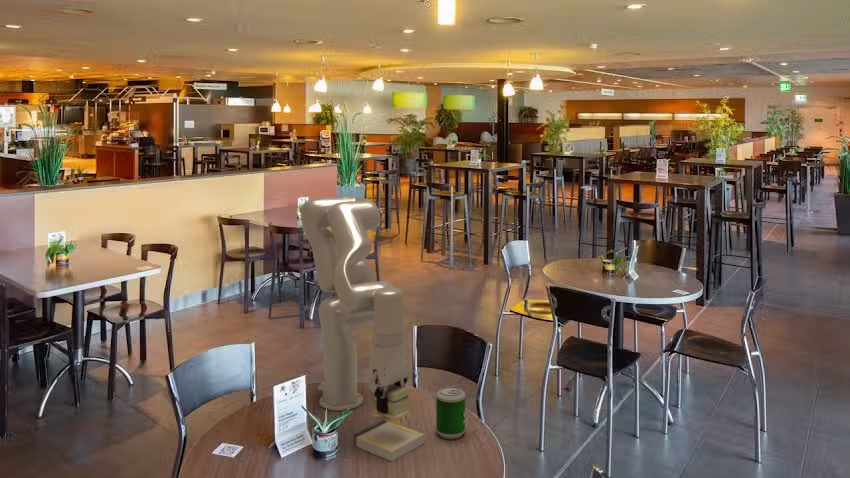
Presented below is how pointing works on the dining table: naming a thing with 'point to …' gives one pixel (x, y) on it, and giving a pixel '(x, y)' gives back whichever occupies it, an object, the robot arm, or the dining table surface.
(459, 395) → the soda can
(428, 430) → the dining table surface
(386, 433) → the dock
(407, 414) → the pallet
